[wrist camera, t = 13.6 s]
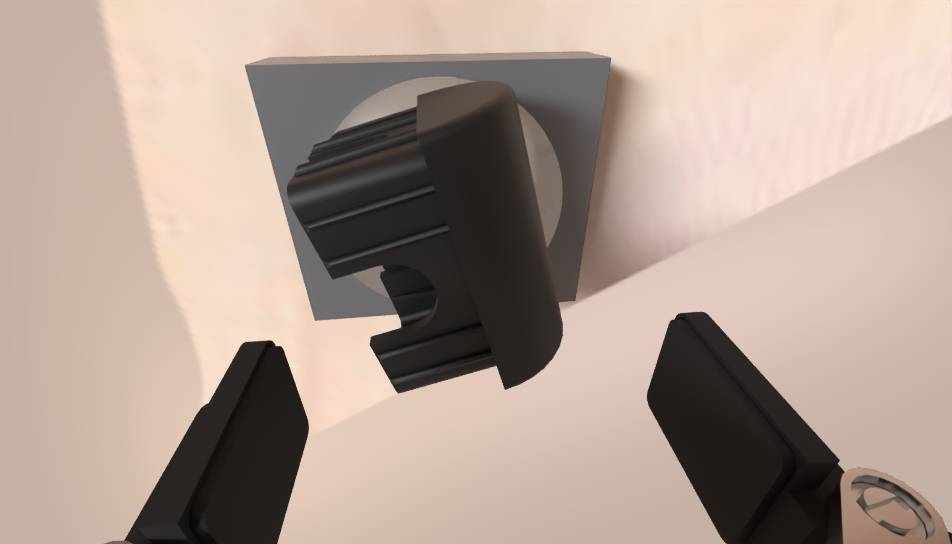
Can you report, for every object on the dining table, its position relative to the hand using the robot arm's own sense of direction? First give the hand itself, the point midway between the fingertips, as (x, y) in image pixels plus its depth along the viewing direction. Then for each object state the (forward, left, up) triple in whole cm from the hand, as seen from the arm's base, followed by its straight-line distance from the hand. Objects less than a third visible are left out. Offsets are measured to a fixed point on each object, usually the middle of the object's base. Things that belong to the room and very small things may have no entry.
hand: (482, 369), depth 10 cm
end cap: (0, 0, -10) cm, 10 cm away
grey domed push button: (0, 0, -14) cm, 14 cm away
